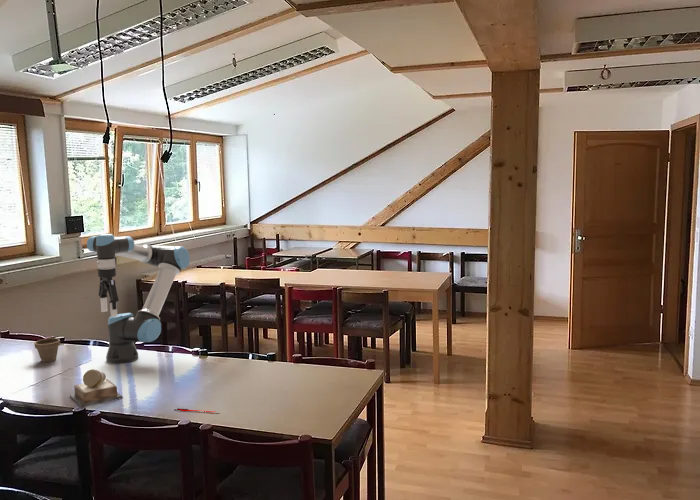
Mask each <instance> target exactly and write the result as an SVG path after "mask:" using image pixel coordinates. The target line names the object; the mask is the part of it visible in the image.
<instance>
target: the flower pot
mask: <svg viewBox="0 0 700 500" xmlns="http://www.w3.org/2000/svg"><path fill="white" fill-rule="evenodd" d="M60 345H61V340H60V338H56V337H54V338H53V337H52V338H50V337H49V338H43V339H39V340H37V341H35V342H34V348H35V349H37V352H38V355H39V358H40V361H41V362H42V363H50V362H54V361H55V360H57V356H58V350H59V347H60Z"/></svg>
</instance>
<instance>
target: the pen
mask: <svg viewBox="0 0 700 500" xmlns="http://www.w3.org/2000/svg"><path fill="white" fill-rule="evenodd" d="M176 410H181V411H180V412H186V411H201V410H198V409H195V410H194V409H188V408H177V409H173V411H176ZM203 411H204V412H205V411H206V412H215V410H214V411H212V410H203Z"/></svg>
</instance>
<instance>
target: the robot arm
mask: <svg viewBox="0 0 700 500" xmlns="http://www.w3.org/2000/svg"><path fill="white" fill-rule="evenodd" d="M86 247H87V249H88V251H89V252H93V253H96V257H97V261H96V262H95V263H96V264H97V268H98V269H97V276H98V277H99V289H98V296H99V298H100V312H101V313H105V312H108V311H109V310H108V309H110V316H109V317H108V320H107V331H108V350H107V352H106V357H105V360H106V362H107V363H109V364H126V363H130V362H134V361H137V360H138V359H139V351H138V349H137V347H136V344H135V342H139V343H151V342H154V341H156V340H157V339H158V337H159V336H160V334H161V332H162V323H161V317H160V316H159V315H160V314H161V311H162V309H163V306H164V304H165V301H166V299H167V297H168V294H169V292H170V289H171V287H172V285H173V283H174V280H175V278H176V276H178V275H180V273H181V271H182V269H183V270H184V269H187V268H188V266H189V264H190V260H191V259H190V253H189V251H188V249H187V248H186V247H185V246H181V245H180V246H179V245H161V244H160V245H148V244H143V245H142V244H141V245H140V244H135V240H134V238H132V236H129V235H128V236H127V235H125V236H124V235H123V236H114V234H112V233H102V234H97V235H92V236H90V237H88V239H87V241H86ZM116 256H119V257H123V258H126V259H133V260H137V261H139V262H140V263H143V264H147V265H150V266H154V267H157V268H159V270H158V273H157V274H156V276H155V279H154V282H153V284H152V286H151V289H150V291H149V293H148V295H147V297H146V299H145V302H144V305H143V306H142V309H140V310H138V311H137V312H136V315H135V316H134V314H133V313H131V312H124V313H118V305H117V304H118V302H119V294H118V291H117V286H116V280H115V279H113V278H114V277H116V276H117V272H116V270H117V269H116V268H115V267H116ZM108 298H109V306H110V307H108Z"/></svg>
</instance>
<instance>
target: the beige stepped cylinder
mask: <svg viewBox="0 0 700 500" xmlns="http://www.w3.org/2000/svg"><path fill="white" fill-rule="evenodd" d="M82 377H83V378H82V382H83V383H84V384H85V385H86V386H88V387H95V386H97V385H99V384H100V383H101V382H103V381H104V380H105V379H107V375H106V373H105V372H102V371H101V372H100V371H99V370H98V369H95V368H94V369H92V368H91V369H90V370H87V371H86V372H85V373H84V374H83V376H82Z"/></svg>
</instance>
